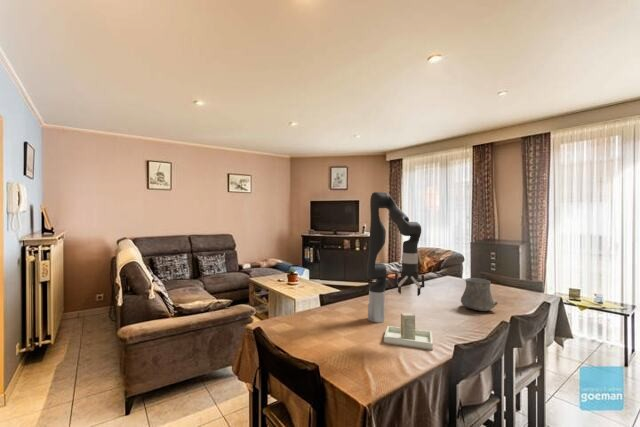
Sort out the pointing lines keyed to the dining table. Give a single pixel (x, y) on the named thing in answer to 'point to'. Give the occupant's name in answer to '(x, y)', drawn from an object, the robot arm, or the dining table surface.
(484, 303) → the vessel
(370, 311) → the robot arm
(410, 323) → the skincare box
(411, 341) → the tray
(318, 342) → the dining table surface
